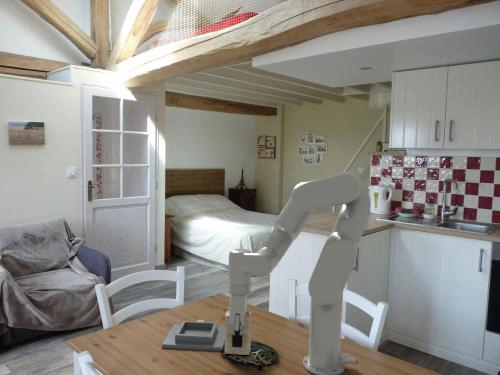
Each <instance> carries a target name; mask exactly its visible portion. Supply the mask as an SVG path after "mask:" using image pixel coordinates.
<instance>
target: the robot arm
mask: <svg viewBox="0 0 500 375" xmlns="http://www.w3.org/2000/svg"><path fill="white" fill-rule="evenodd" d="M336 206H340V210H339V212H338V216H337V217H336V220H335V223H334V225H333V227H332V230H331V232H330V234H329V236H328V237H327V239H326V240H325V242H324V244H323V248H322V249H321V252H320V254H319V256H318V260H317V261H316V263H315V266H314V269H313V272H312V274H311V275H310V279H309V281H308V286H307V289H308V294H309V296H310V308H309V330H308V331H309V332H308V334H309V335H308V354H307V355H306V356H304V357H303V359H302V365H303V367H304V368H305V370H306V371H308V372H310V373H312V374H314V375H341V374H343V373H344V372H345V367H346V364H349V365H356V364H357V358H356V357H354V356H351V354H350V353H344V354H343V353H342V352H341V342H342V341H341V338H342V319H343V302H344V301H343V299H344V290H345V288H346V285H347V282H348V281H349V278H350V277H351V276H350V275H351V274H352V271H353V269H354V266H355V264H356V261H357V258H358V247H359V244H360V242H361V239H362V236H363V234H364V231H365V228H366V226H367V223H368V221H369V218H370V213H371V197H370V193H369V191H368V189H367V187H366V186H365V184H364V183H363V181H362V180H361V179H360V178H359V177H358V175H356V174H354V173H352V172H345V171H344V172H340V173H337V174H334V175H330V176H326V177H321V178H318V179H313V180H309V181H307V180H306V181H302V182H299V183H297V184H296V185H295V186H294V187H293V189H292V191H291V194H290V198H289V199H288V201H287V202H286V204H285V206H284V207H283V208H282V209H281V211H280V213H279V214H278V216H277V217H276V218H275V221H274V226H273V229H272V230H271V233H270V235H269V236H268V238H267V239H266V241H265V243H264V244H263V245H262V246H261V248H260V250H258V251H257V252H252V251H251V250H250V249H247V248H233V249H231V250H230V251H229V253H228V271H227V272H228V275H227V293H228V294H229V295H230V297H229V298H230V299H229V311H230V312H229V325H230V326H231V325H233V334H232V347H242V336H243V334H242V326H244V322H245V316H246V312H247V304H248V296H249V295H251V293H252V276H253V277H257V278H266V277H268V276H269V275H270V274H271V273H272V272H273V271H274V270H275V269H276V268H277V266H278V265H279V263H280V262H281V260H282V259H283V257H284V256H285V254H286V253H287V252H288V250H289V248H290V247H291V246H292V244H293V242H294V241H295V240H297V239H298V237H299V235H300V234H301V232H302V231H303V230H304V228H305V227H306V224H308V222H309V220H310V219H311V218H312V216H313V215H314V213H315V212H316V211H317V210H323V209H327V208H331V207H336ZM239 323H241V325H239ZM239 327H240V329H239Z"/></svg>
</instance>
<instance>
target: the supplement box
mask: <svg viewBox="0 0 500 375" xmlns="http://www.w3.org/2000/svg"><path fill="white" fill-rule="evenodd" d="M229 312H230V310H227V311H226V313H225V315H224V327H225V343H224V355H225V354H226V353H227V354H238V355H249V356H250V354H251V350H250V349H251V345H252V344H251V343H252V342H251V340H252V339H251V338H252V336H251V335H252V330H251V329H252V312H251V311H246V316H245V322H244V326H242V334H243V336H242V347H232V334H233V325H231V326H230V325H229ZM239 325H241V323H239ZM239 329H240V327H239Z"/></svg>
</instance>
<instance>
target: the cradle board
mask: <svg viewBox="0 0 500 375" xmlns="http://www.w3.org/2000/svg"><path fill="white" fill-rule="evenodd" d="M223 346H224V347H225V325H224V326H222V325H221V326H219V325H218V322H217V321H216V322H214V321H205V320H203V319H197V320H182V322H181V324H180V323H174V324H173V325H172V327H171V328H170V330H169V332H168V333H167V336H166V337H165V339H164V340H163V342H162V343H161V348H162V349H175V350H176V349H179V350H197V351H214V352H215V351H216V352H222V351H221V350H224V347H223Z"/></svg>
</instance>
